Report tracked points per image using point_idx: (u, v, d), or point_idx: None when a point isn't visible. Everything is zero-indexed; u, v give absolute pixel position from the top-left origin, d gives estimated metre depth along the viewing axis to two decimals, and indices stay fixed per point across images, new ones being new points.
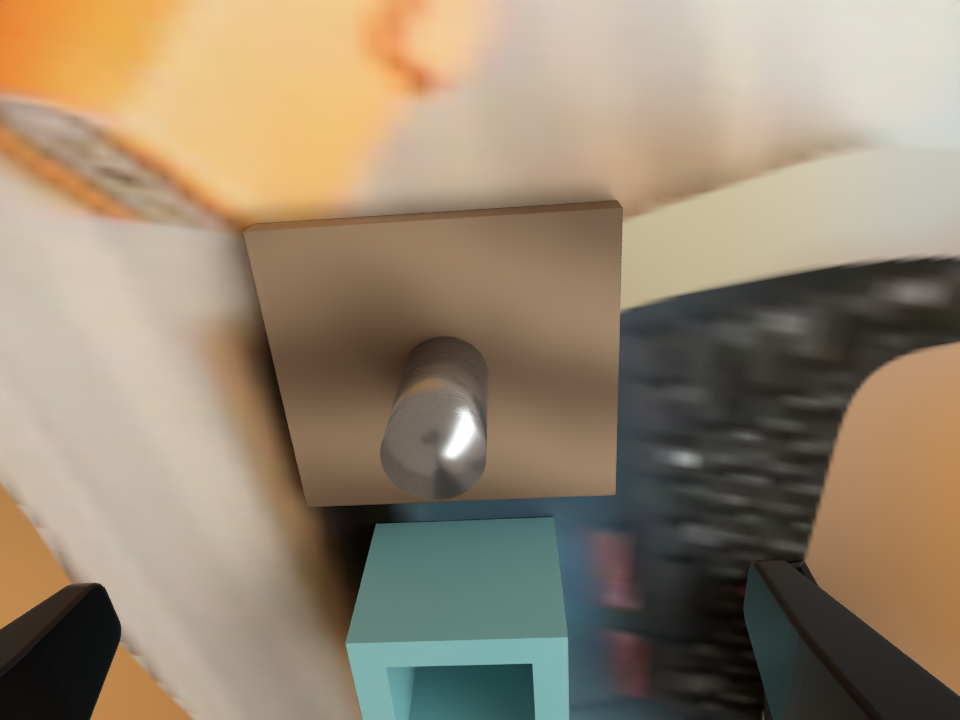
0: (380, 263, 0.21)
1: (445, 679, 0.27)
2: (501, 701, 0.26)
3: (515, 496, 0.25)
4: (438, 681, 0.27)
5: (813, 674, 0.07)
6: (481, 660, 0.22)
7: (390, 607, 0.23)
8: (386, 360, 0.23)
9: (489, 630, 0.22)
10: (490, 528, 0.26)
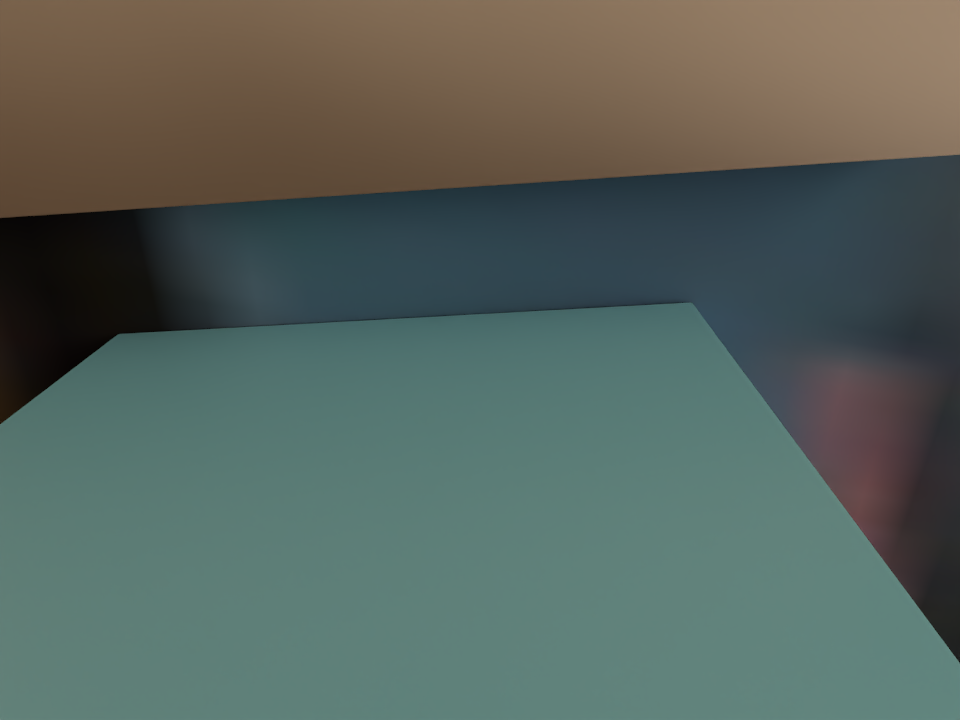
0: None
1: None
2: None
3: (578, 166, 0.06)
4: None
5: None
6: None
7: None
8: None
9: None
10: (483, 330, 0.08)
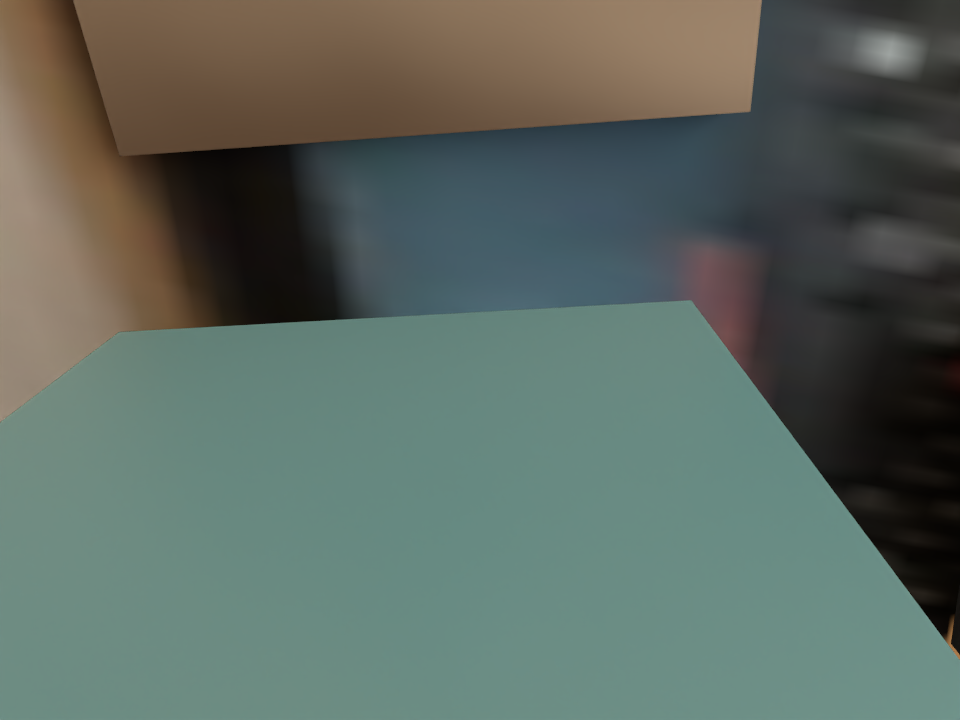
0: None
1: None
2: None
3: (542, 119, 0.12)
4: None
5: None
6: None
7: None
8: None
9: None
10: (483, 328, 0.08)
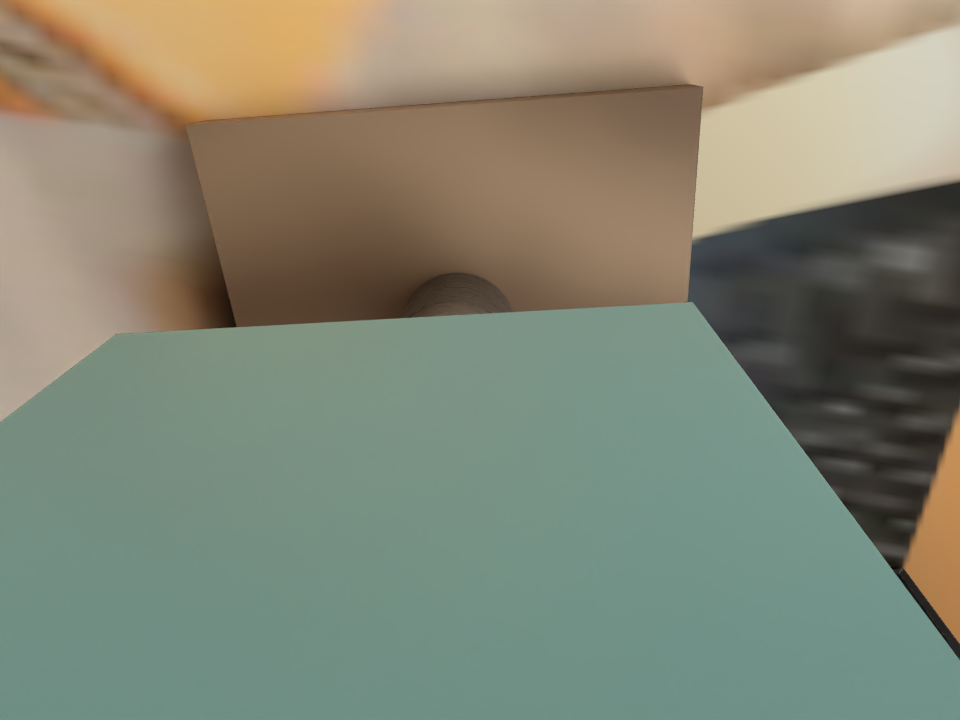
0: (371, 170, 0.16)
1: None
2: None
3: None
4: None
5: None
6: None
7: None
8: (380, 306, 0.17)
9: None
10: (483, 330, 0.08)
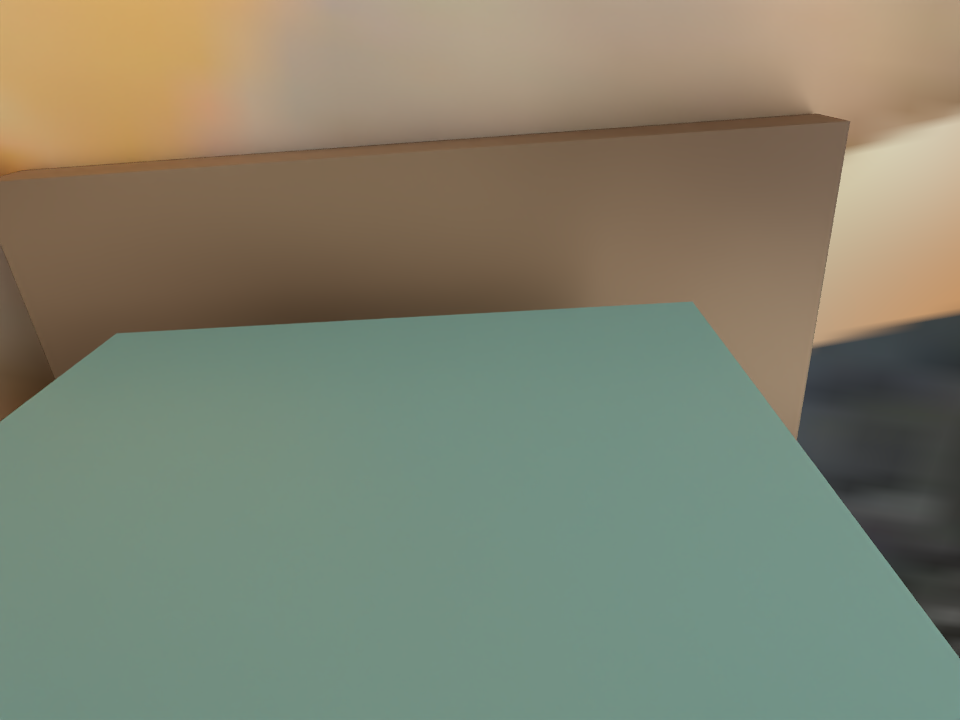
0: (289, 254, 0.10)
1: None
2: None
3: None
4: None
5: None
6: None
7: None
8: None
9: None
10: (482, 329, 0.08)
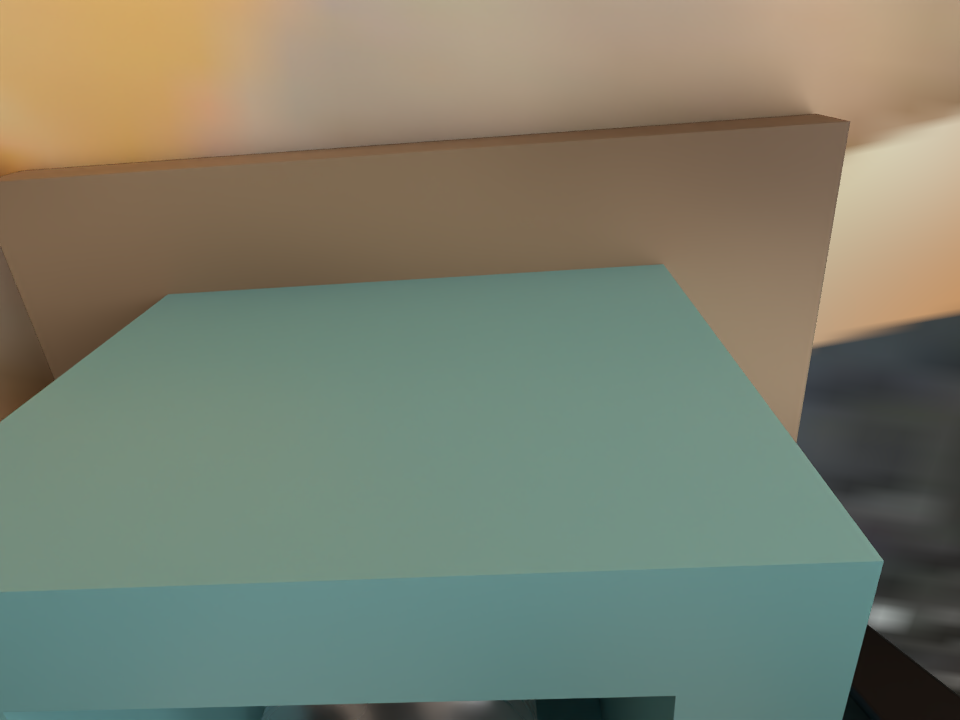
0: (289, 254, 0.10)
1: None
2: None
3: None
4: None
5: None
6: (433, 683, 0.05)
7: (76, 464, 0.06)
8: None
9: (471, 537, 0.05)
10: (484, 287, 0.09)
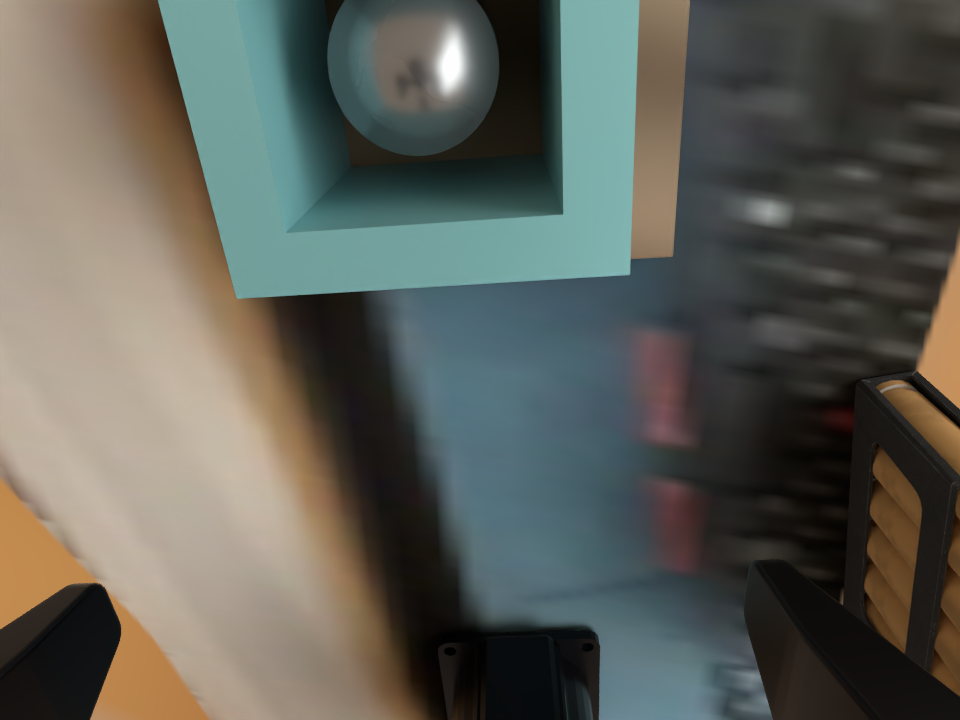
0: None
1: (386, 186, 0.15)
2: (489, 190, 0.14)
3: None
4: (372, 188, 0.15)
5: (813, 674, 0.07)
6: None
7: None
8: None
9: None
10: None
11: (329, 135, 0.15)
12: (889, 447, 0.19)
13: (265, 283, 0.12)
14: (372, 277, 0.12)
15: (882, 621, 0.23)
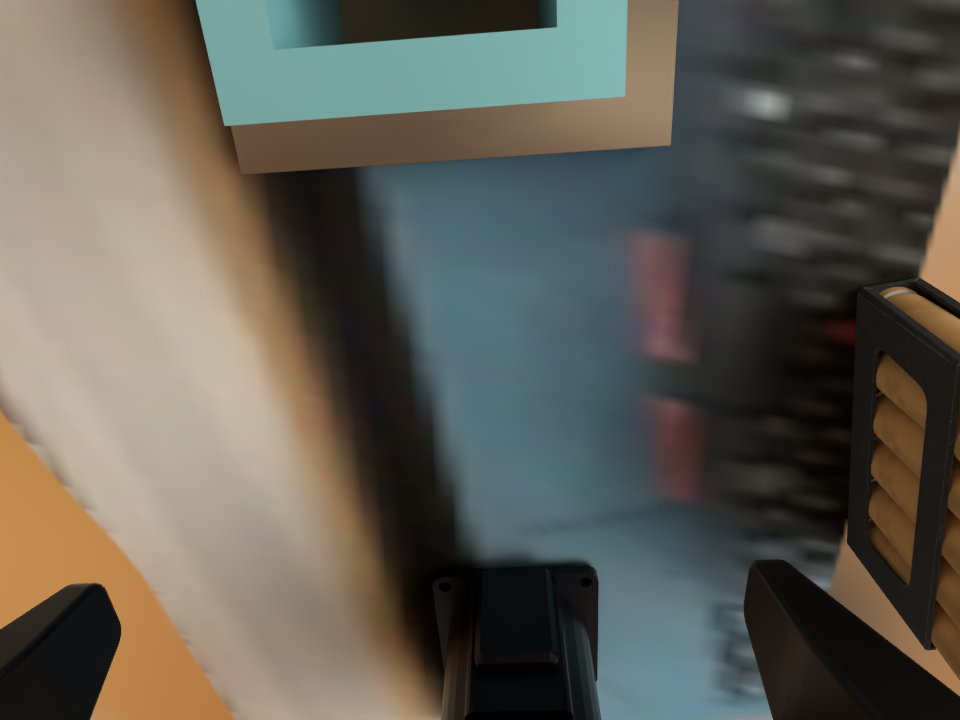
0: None
1: None
2: None
3: (530, 149, 0.18)
4: None
5: (813, 674, 0.07)
6: None
7: None
8: None
9: None
10: None
11: None
12: (893, 349, 0.19)
13: (253, 108, 0.12)
14: (363, 100, 0.12)
15: (887, 546, 0.23)
